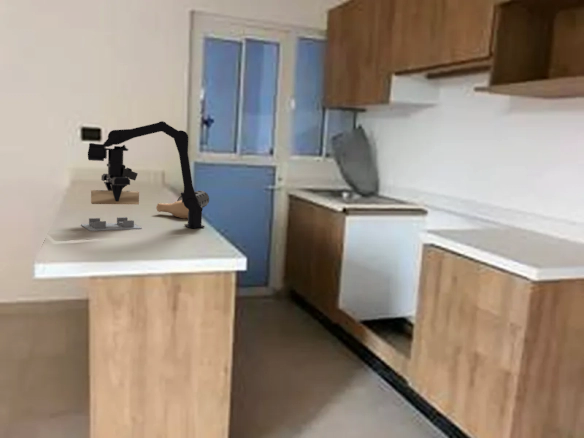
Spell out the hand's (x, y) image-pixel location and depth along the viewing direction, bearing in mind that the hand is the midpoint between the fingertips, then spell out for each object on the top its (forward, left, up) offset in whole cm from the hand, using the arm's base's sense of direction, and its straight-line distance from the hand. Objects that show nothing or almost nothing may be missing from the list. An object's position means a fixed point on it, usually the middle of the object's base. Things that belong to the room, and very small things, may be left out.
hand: (115, 200), depth 220 cm
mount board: (-4, +3, -10) cm, 11 cm away
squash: (+13, -32, -10) cm, 36 cm away
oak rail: (0, 0, -1) cm, 1 cm away
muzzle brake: (+26, -46, -10) cm, 54 cm away
